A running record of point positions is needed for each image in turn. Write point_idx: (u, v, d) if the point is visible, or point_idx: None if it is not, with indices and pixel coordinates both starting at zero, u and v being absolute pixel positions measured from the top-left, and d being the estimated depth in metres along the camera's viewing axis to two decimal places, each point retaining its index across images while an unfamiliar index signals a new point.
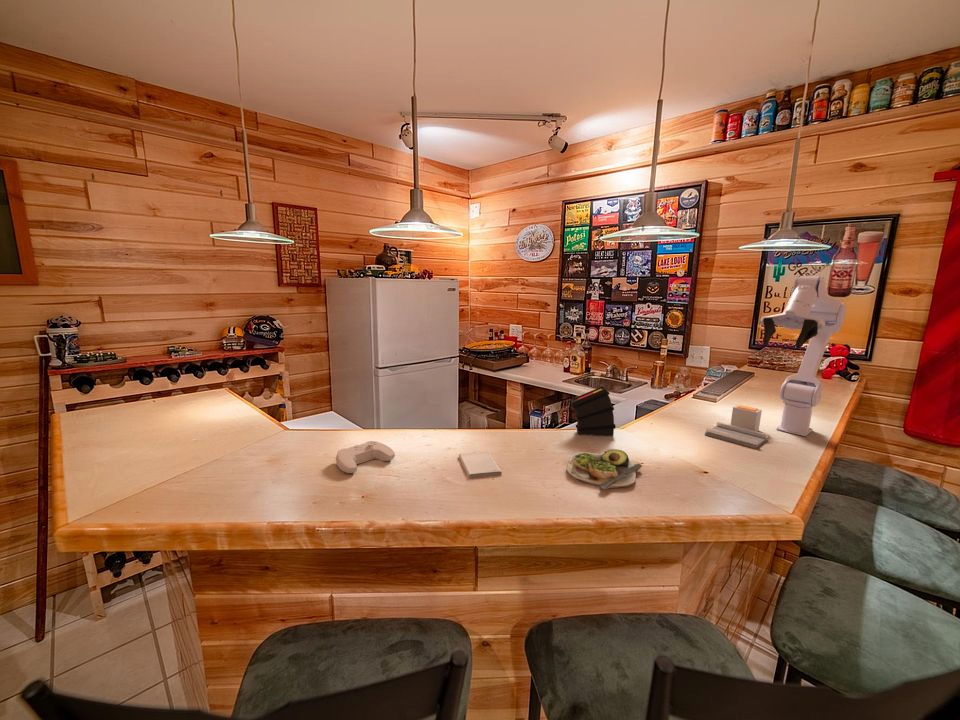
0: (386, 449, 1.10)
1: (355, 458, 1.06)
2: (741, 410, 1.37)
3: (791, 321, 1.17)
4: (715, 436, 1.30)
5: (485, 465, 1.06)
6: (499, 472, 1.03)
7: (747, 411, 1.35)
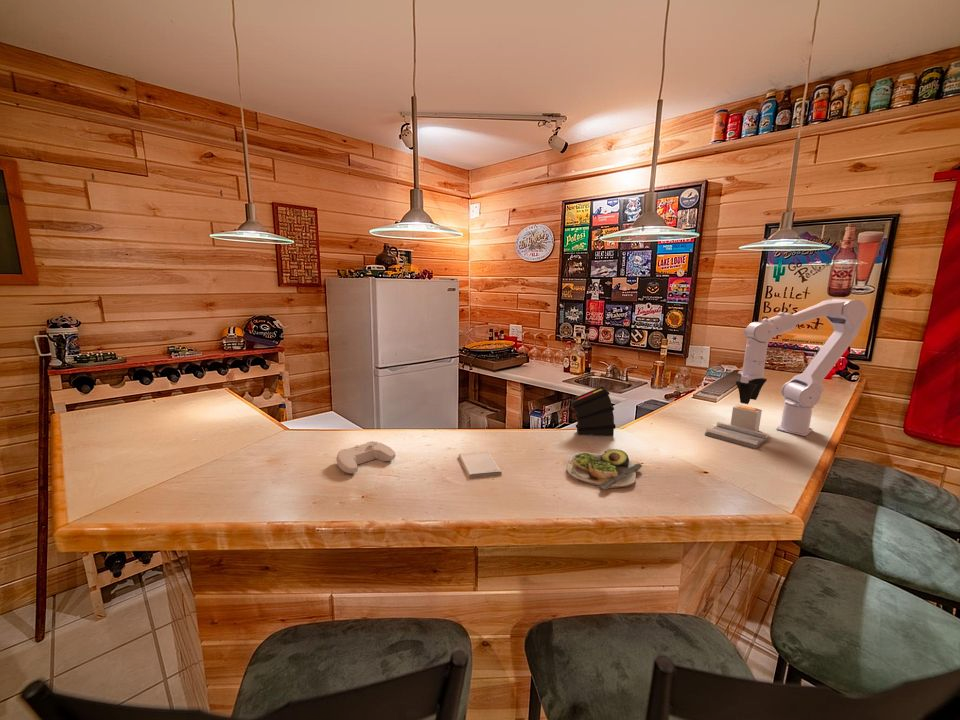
0: (387, 449, 1.10)
1: (356, 458, 1.06)
2: (741, 410, 1.37)
3: None
4: (715, 436, 1.30)
5: (485, 465, 1.06)
6: (499, 472, 1.03)
7: (747, 411, 1.35)
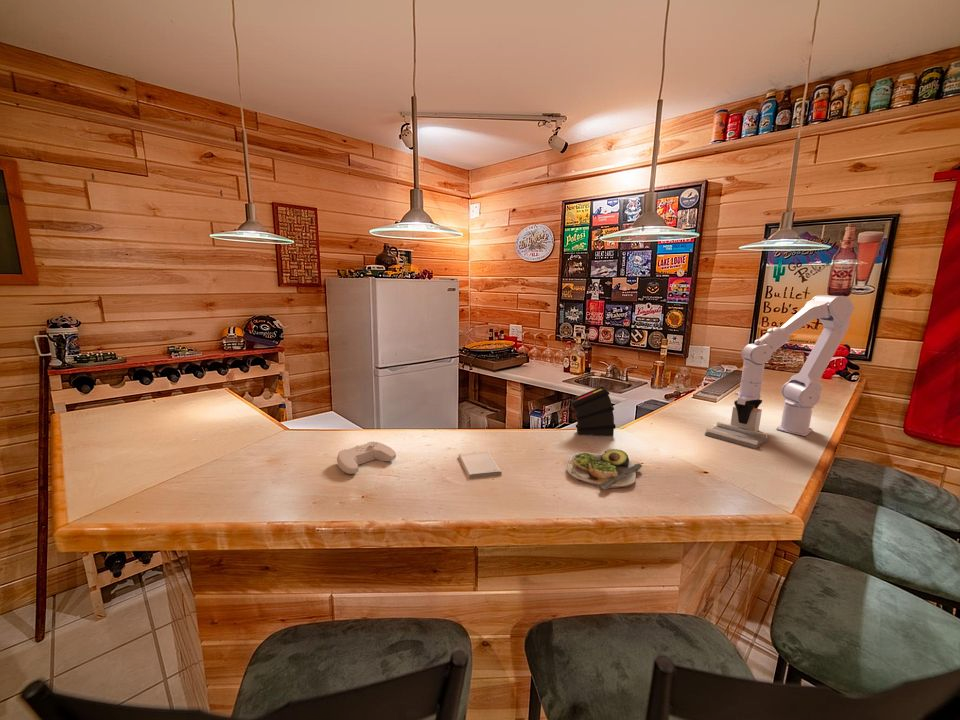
0: (387, 449, 1.10)
1: (356, 459, 1.06)
2: None
3: None
4: (715, 436, 1.30)
5: (485, 465, 1.06)
6: (499, 472, 1.03)
7: None
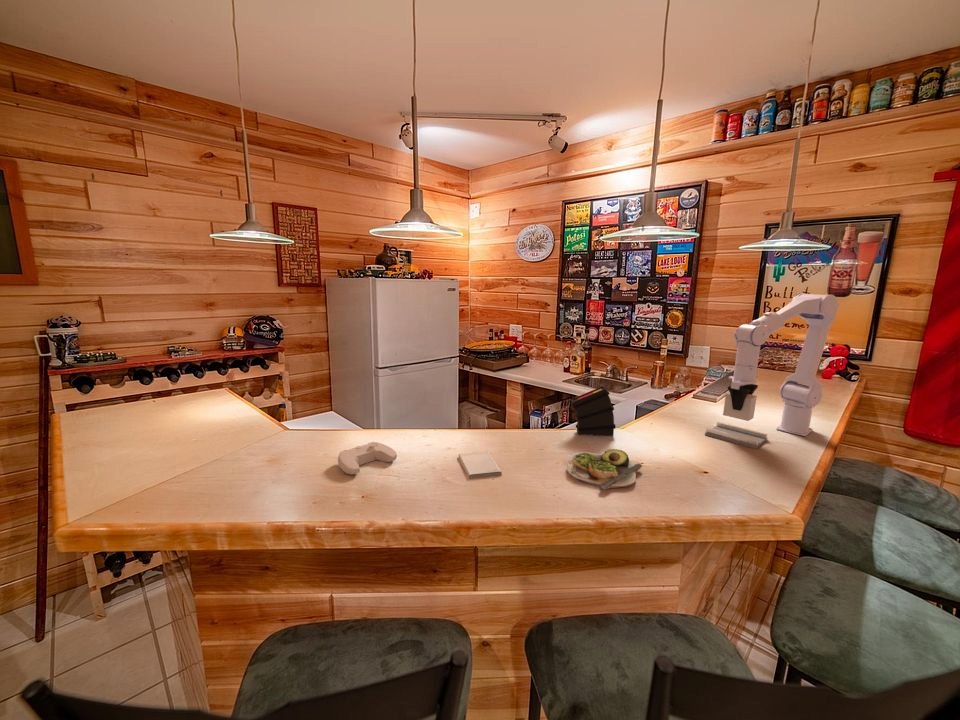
0: (388, 449, 1.10)
1: (357, 459, 1.05)
2: None
3: None
4: (715, 436, 1.30)
5: (485, 465, 1.06)
6: (499, 472, 1.03)
7: None
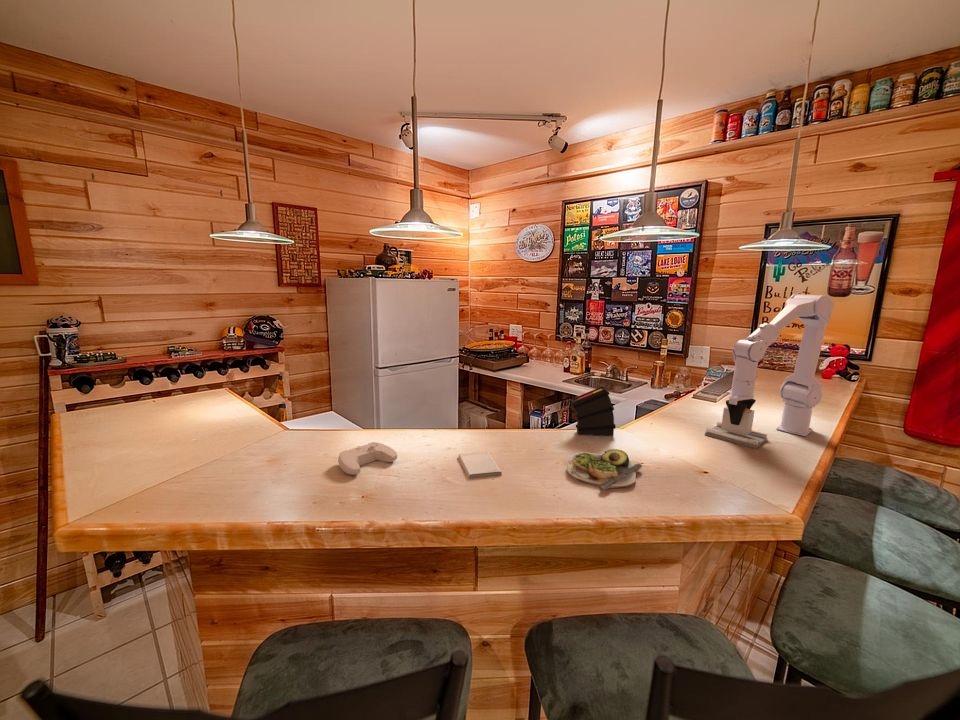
0: (389, 450, 1.10)
1: (358, 459, 1.05)
2: None
3: None
4: (715, 436, 1.30)
5: (485, 465, 1.06)
6: (499, 472, 1.03)
7: None
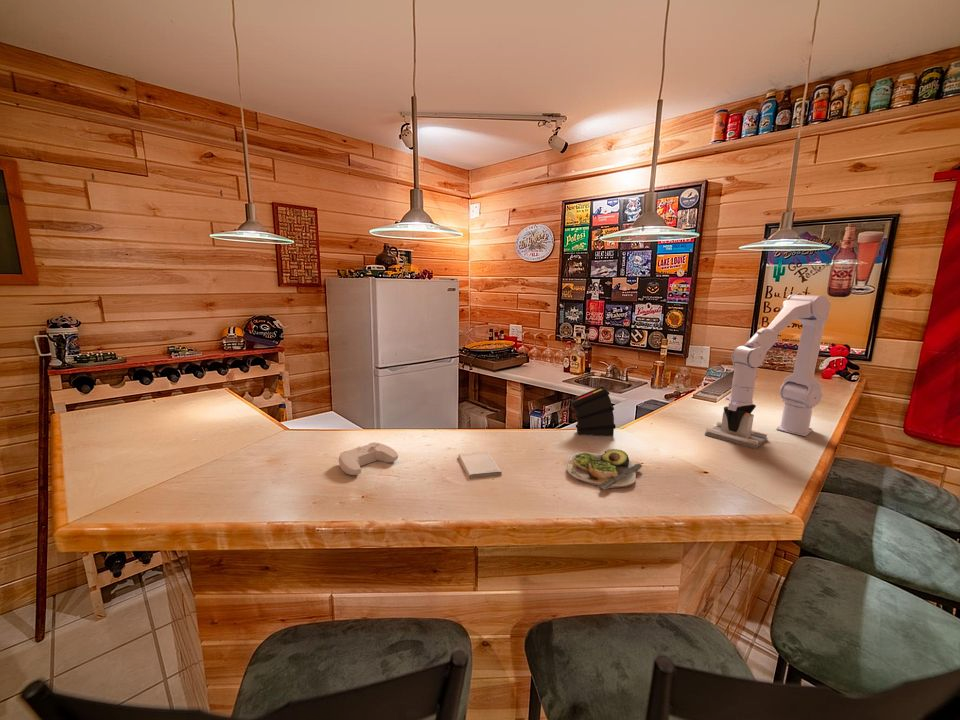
0: (389, 450, 1.10)
1: (358, 460, 1.05)
2: None
3: None
4: (715, 436, 1.30)
5: (485, 465, 1.06)
6: (499, 472, 1.03)
7: None
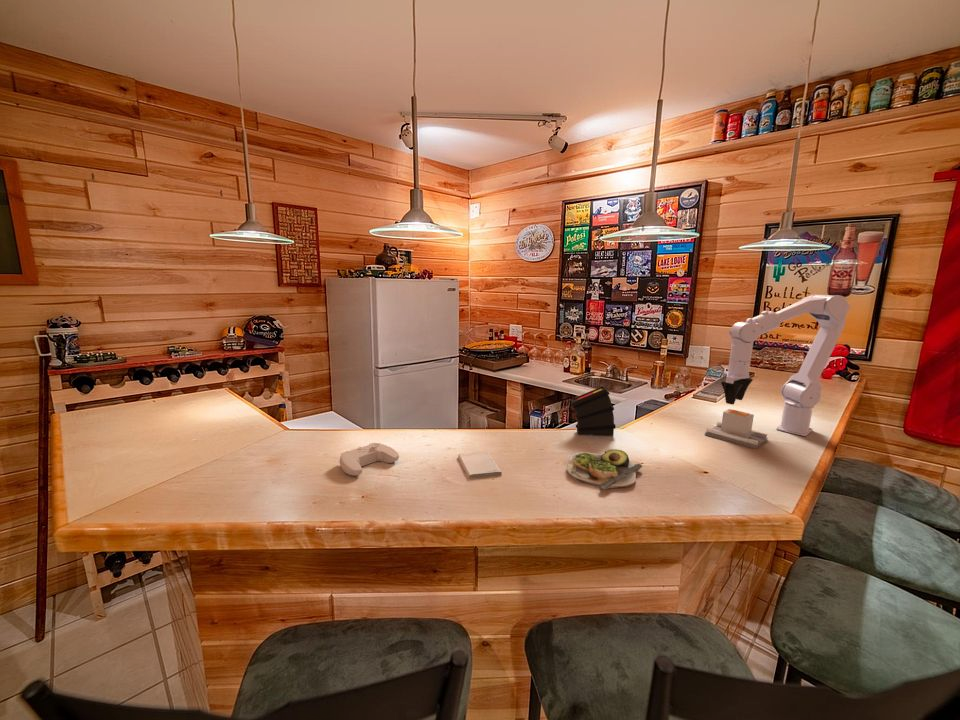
0: (390, 450, 1.09)
1: (359, 460, 1.05)
2: (732, 415, 1.29)
3: None
4: (715, 436, 1.30)
5: (485, 465, 1.06)
6: (499, 472, 1.03)
7: (738, 416, 1.28)
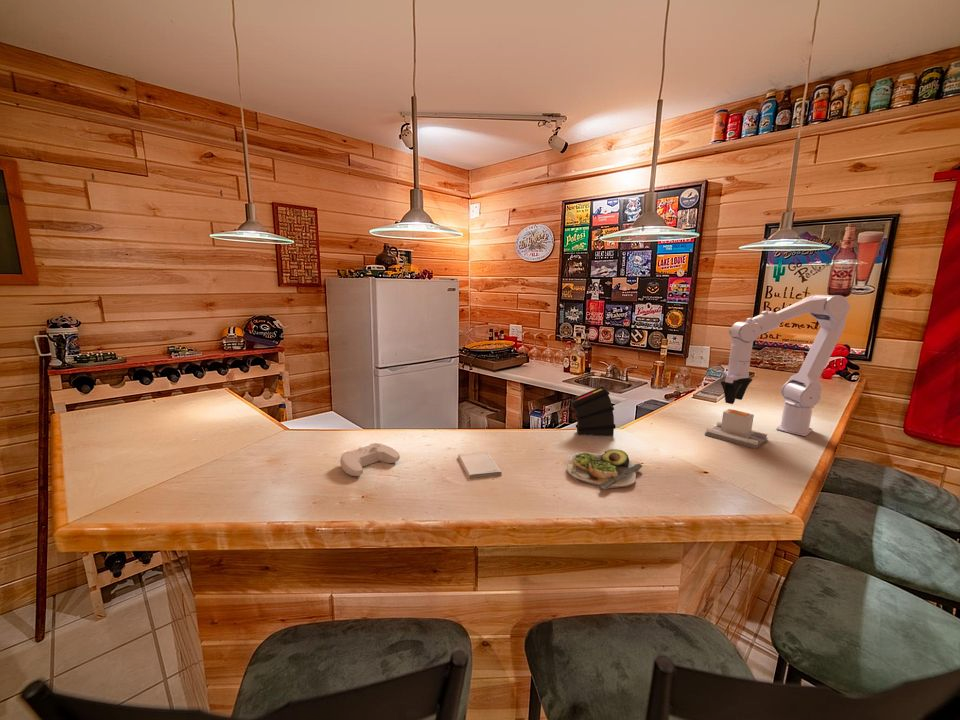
0: (391, 451, 1.09)
1: (360, 461, 1.05)
2: (732, 415, 1.29)
3: None
4: (715, 436, 1.30)
5: (485, 465, 1.06)
6: (499, 472, 1.03)
7: (738, 416, 1.28)
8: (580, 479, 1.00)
